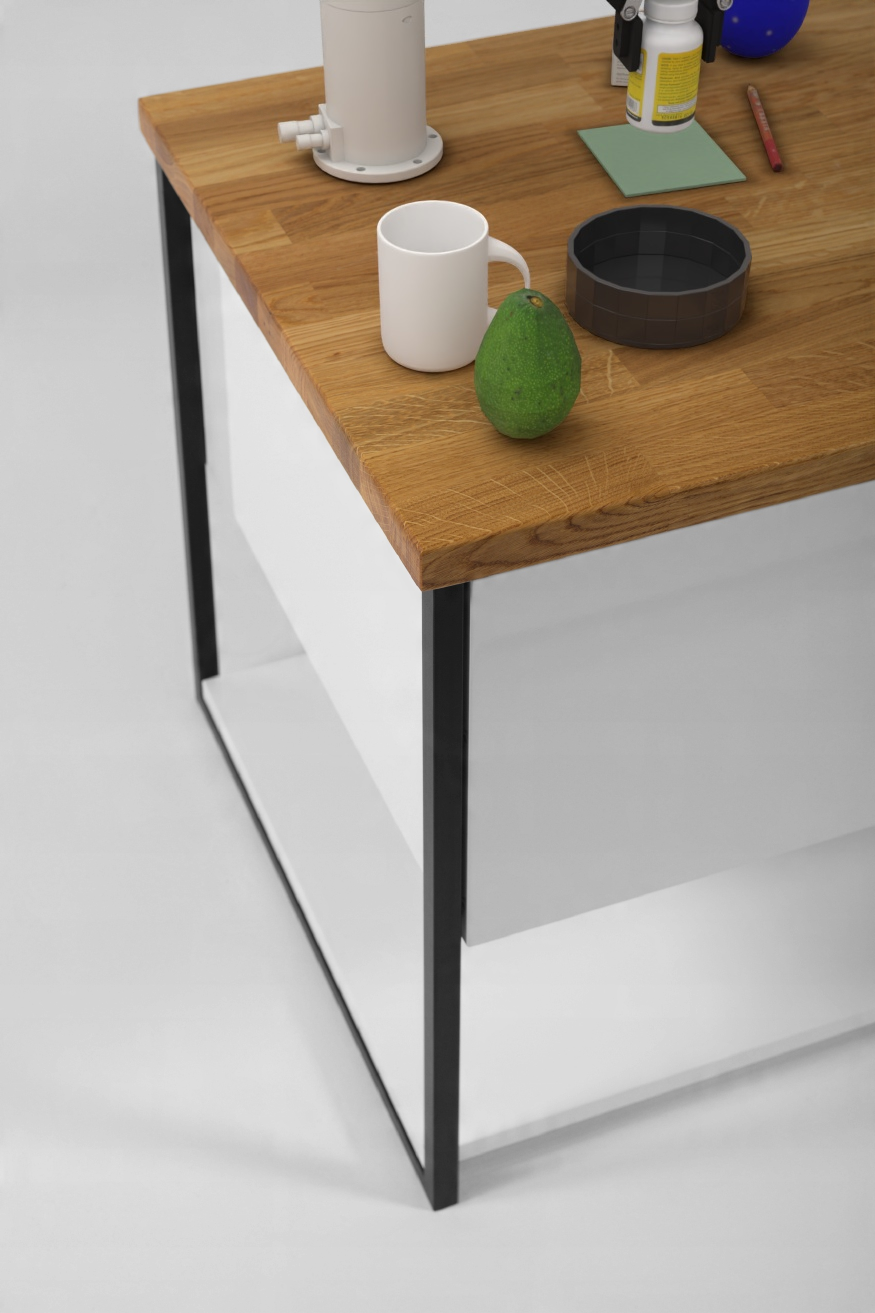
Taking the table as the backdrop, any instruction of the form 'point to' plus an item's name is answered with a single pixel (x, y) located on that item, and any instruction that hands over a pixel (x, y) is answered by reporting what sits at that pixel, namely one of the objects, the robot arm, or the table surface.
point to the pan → (657, 276)
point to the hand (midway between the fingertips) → (665, 57)
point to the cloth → (659, 159)
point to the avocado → (527, 367)
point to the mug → (437, 283)
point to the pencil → (764, 129)
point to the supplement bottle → (666, 68)
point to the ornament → (761, 25)
